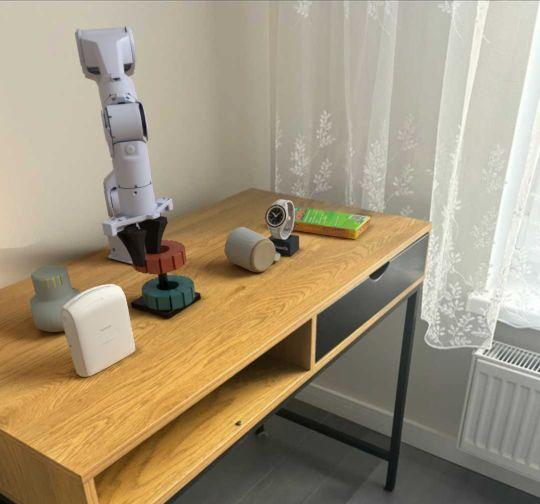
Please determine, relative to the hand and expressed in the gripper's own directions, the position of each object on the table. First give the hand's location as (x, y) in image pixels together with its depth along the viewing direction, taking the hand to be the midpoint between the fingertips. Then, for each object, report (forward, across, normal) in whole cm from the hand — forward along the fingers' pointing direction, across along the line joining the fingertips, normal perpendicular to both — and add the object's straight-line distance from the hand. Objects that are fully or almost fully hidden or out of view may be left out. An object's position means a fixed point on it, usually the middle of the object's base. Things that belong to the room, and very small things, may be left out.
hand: (146, 262), depth 105 cm
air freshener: (+10, -12, +11) cm, 19 cm away
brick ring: (+1, +3, 0) cm, 3 cm away
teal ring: (+8, +3, -1) cm, 9 cm away
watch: (+10, +34, -6) cm, 36 cm away
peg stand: (+9, +3, 0) cm, 10 cm away
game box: (+10, +51, -6) cm, 52 cm away
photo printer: (+10, -17, -5) cm, 20 cm away
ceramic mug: (+10, +25, -5) cm, 28 cm away
